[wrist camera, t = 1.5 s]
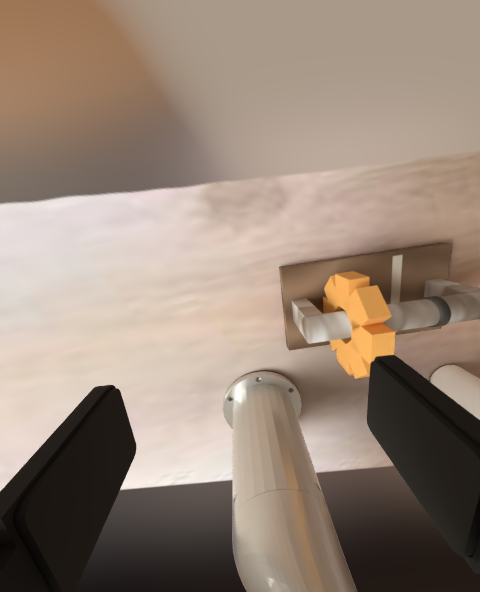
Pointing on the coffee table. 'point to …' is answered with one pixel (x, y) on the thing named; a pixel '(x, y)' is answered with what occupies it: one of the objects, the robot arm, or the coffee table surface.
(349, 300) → the collar
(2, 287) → the coffee table surface
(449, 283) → the pipe stand
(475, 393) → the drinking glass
